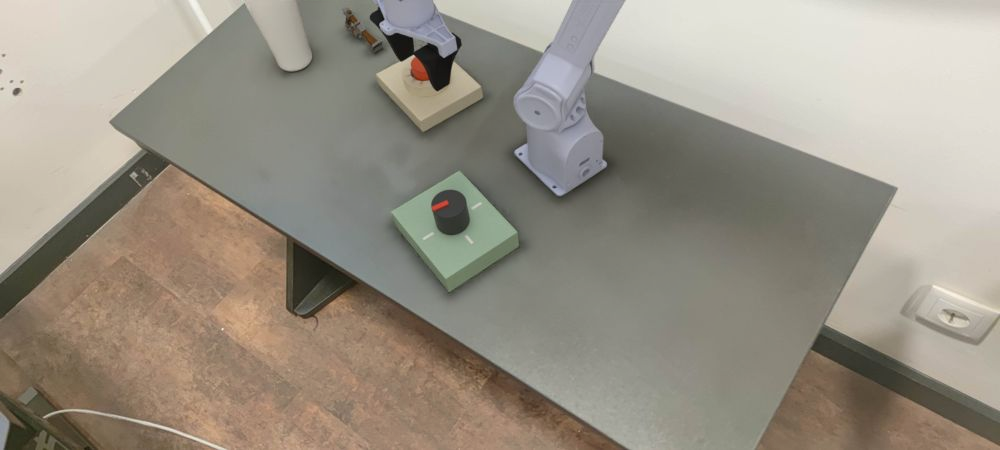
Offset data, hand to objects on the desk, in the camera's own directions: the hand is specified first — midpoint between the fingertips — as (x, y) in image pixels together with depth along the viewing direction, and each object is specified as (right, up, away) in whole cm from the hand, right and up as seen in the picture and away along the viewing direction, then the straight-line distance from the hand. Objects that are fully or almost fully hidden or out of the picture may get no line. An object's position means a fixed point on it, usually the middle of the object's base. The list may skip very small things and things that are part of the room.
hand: (423, 71), depth 89 cm
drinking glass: (-21, +5, +16) cm, 27 cm away
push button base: (0, -1, +10) cm, 10 cm away
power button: (-1, +1, +7) cm, 7 cm away
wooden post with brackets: (-11, +8, +18) cm, 22 cm away
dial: (+4, -19, -7) cm, 21 cm away
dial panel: (+4, -21, -5) cm, 22 cm away
